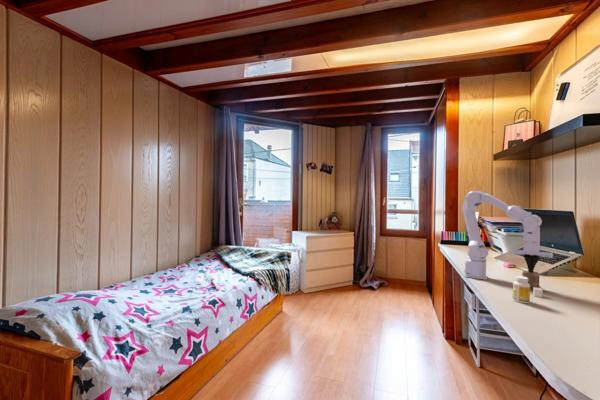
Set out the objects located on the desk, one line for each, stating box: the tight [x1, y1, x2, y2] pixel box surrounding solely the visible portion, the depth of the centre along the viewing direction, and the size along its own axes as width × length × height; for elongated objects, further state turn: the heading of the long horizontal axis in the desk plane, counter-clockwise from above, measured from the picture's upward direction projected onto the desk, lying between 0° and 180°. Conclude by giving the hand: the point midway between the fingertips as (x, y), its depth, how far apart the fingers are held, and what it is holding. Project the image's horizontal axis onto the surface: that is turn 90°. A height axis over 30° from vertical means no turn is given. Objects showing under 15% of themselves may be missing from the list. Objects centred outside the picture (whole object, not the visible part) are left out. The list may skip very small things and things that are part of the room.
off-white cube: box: [532, 287, 544, 298], centre depth 118 cm, size 3×3×3 cm
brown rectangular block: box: [521, 269, 540, 289], centre depth 127 cm, size 5×5×7 cm
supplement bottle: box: [512, 275, 531, 304], centre depth 113 cm, size 5×5×10 cm
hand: (530, 271), depth 127 cm, fingers closed
